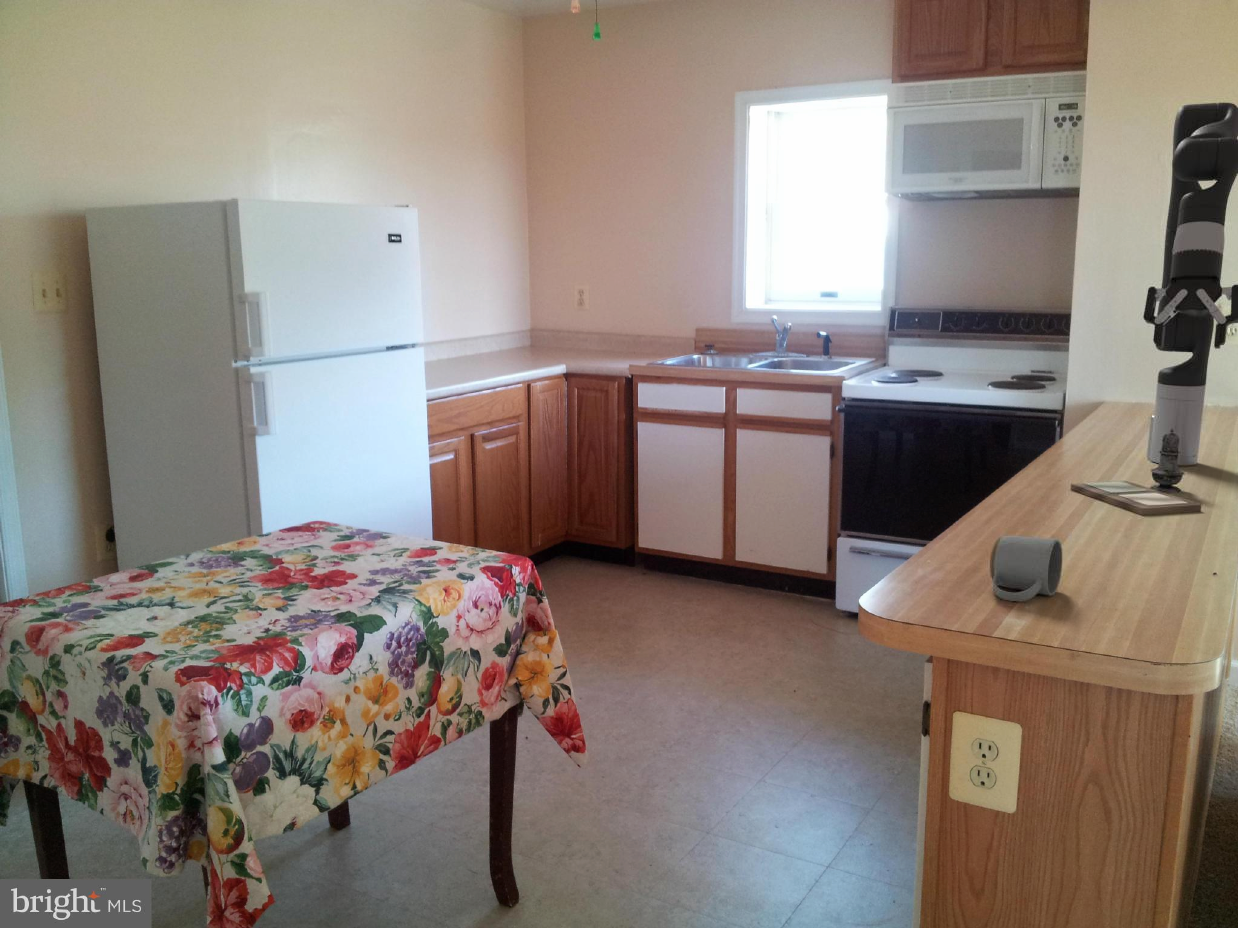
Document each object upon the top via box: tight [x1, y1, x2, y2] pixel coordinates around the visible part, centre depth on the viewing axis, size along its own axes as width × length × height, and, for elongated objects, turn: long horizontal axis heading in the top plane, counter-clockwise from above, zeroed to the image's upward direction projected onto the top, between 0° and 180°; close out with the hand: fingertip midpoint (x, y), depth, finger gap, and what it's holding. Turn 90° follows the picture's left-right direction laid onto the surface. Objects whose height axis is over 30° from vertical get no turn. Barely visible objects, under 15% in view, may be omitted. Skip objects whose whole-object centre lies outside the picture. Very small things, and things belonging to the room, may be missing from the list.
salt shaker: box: [1150, 429, 1186, 494], centre depth 198 cm, size 6×6×12 cm
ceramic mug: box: [989, 535, 1063, 602], centre depth 140 cm, size 11×8×8 cm
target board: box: [1070, 480, 1202, 516], centre depth 191 cm, size 20×12×1 cm, turn 12°
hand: (1187, 347), depth 173 cm, fingers open, 8 cm apart
